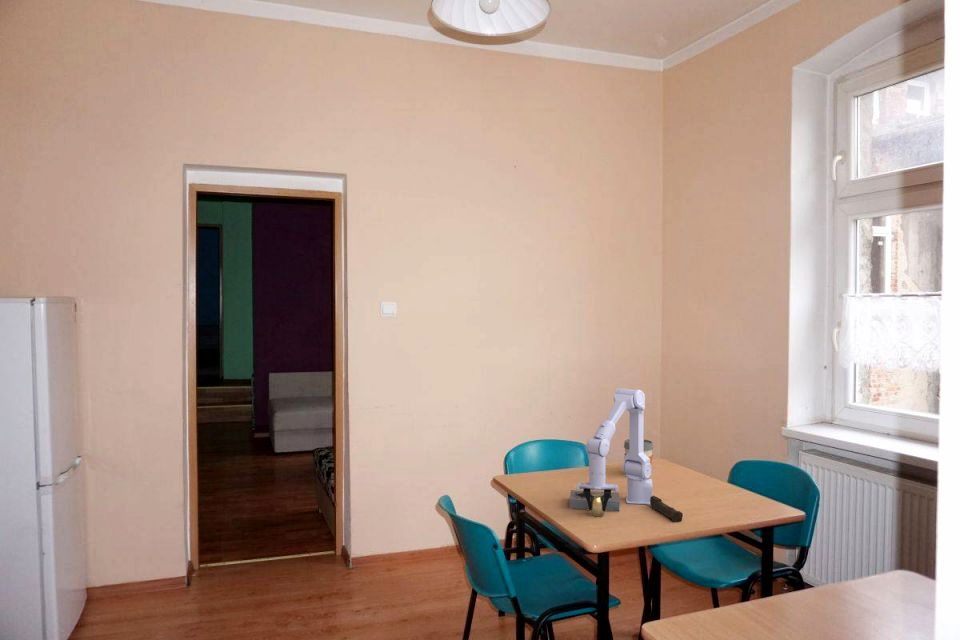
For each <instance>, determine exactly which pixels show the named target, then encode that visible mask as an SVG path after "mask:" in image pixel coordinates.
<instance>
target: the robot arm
mask: <svg viewBox="0 0 960 640" xmlns="http://www.w3.org/2000/svg"><path fill="white" fill-rule="evenodd" d="M645 410H646V394H645V393H644V392H643V391H642V389H632V388H631V389H630V388H623V387H618V388H617V389H616V390H615V392H614V395H613V404H612V407H611V409H610V410H609V413H608V416H607V418H606V420H604V421H601V423H600V424H599V426H598V428H597V430H596V431H595V433H594V436H593V437H591V438H589V439H588V441H586V446H585V451H586V453H587V458H588V461H589V463H588V464H589V465H588V466H589V467H588V469H589V470H588V482H577V483H576V490H578V491H581V490H582V491H583V492H584V495H585V497H586V499H587V502H588V506H589V510H588V511H590V512H591V499H590V498H591V491H603V492H604V505H603V512H606V511H605V510H606V505H607V502H608V499H609V497H610V495H611V492H617V493H619V485H618V484H614V483H606V456H607V454H608V453H609V452H610V446H611V440H612V438H613V436H614V434H615V433H616V431H617V428H616V425H617V423H618V421H619V420H620V418H621V417H622V416H623V414H624V413H625V411H628V412H629V428H628V429H629V436H628V437H629V453H628V454H627V455H626V456H625V455H624V457H623V463H622V467H621V468H622V472H623V474H624V475H625V478H627V480H626V481H627V484H626V486H627V487H626V489H627V492H626V496H625V500H626V503H627V504H636V505H637V504H638V505H639V504H640V505H650V498H651V496H654V495H653V494H654V493H653V479H652V478H650V476H652V472H653V471H652V470H653V468H652V463H651V464H650V458H649V457H648V456H647V455H646V454H644V440H645V439H644V429H645V428H644V427H645V426H644V425H645V423H644V420H645V419H644V418H645V417H644V414H645V412H644V411H645Z"/></svg>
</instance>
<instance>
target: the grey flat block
mask: <svg viewBox="0 0 960 640" xmlns="http://www.w3.org/2000/svg"><path fill="white" fill-rule="evenodd" d="M569 493H570V494H569V509H570V508H574V509H573V510H584V509H589V506H588V502H587V499H586V497H585V495H584V492H583V490H577V489H572V490H571V489H570V492H569ZM593 494H600V495H603V496H604V491H598V490H591V495H593ZM590 499H591V498H590ZM603 505H604V497H603ZM620 506H621V505H620V495H619V492H616V491H611V495H610V497H609V499H608V502H607V505H606V510H607V511H606V512H620Z"/></svg>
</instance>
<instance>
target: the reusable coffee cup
mask: <svg viewBox="0 0 960 640" xmlns="http://www.w3.org/2000/svg"><path fill="white" fill-rule="evenodd" d="M653 444H654V442H653V441H652V440H648V439H644V454H646V455H647V456H648V457H649V458H650V464H651V465H652V463H653V450H654V445H653ZM623 448H624V452H625V453H624V456H626V455H627V454H628V453H629V439H625V440H624V445H623Z"/></svg>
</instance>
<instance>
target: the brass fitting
mask: <svg viewBox="0 0 960 640" xmlns="http://www.w3.org/2000/svg"><path fill="white" fill-rule="evenodd" d="M603 497H604V496H603V495H600V494H593V495H591V511H590V517H592V516H593V518H597V517H600V518H604V511H603Z"/></svg>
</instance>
